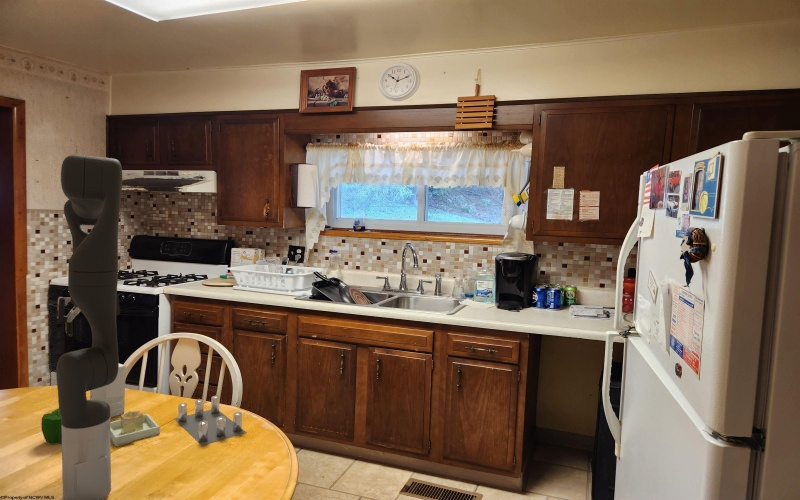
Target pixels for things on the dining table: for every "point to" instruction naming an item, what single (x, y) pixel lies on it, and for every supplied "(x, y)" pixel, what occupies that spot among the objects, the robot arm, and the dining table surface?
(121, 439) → the sage parts tray
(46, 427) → the bell pepper
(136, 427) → the yellow faceted hexagonal block
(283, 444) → the dining table surface
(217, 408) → the standing spacers
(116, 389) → the skincare box
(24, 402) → the dining table surface
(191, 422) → the mat
